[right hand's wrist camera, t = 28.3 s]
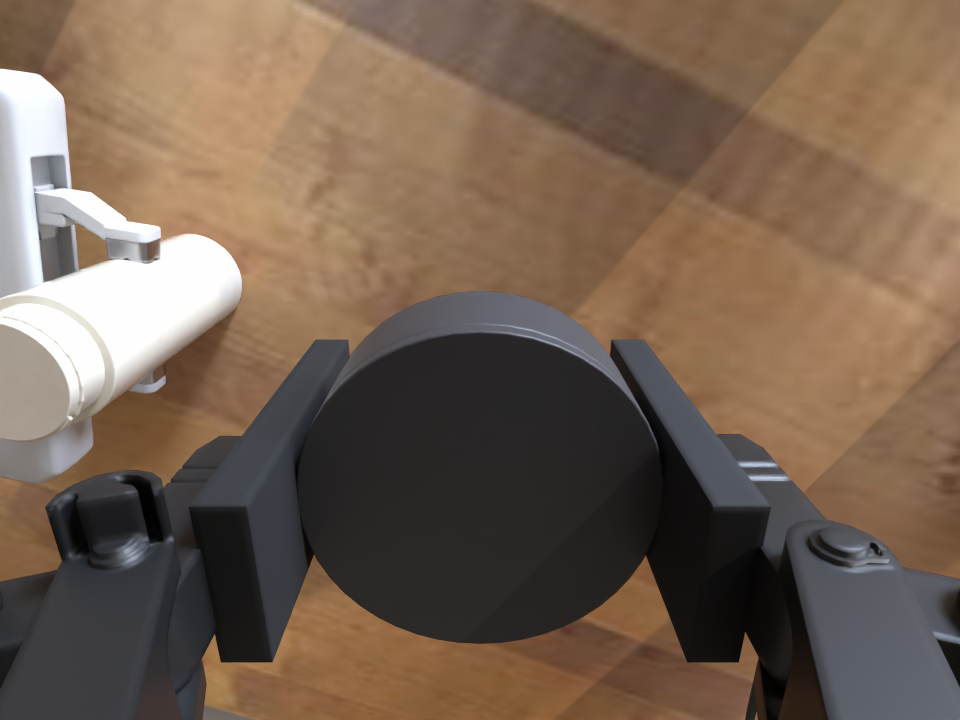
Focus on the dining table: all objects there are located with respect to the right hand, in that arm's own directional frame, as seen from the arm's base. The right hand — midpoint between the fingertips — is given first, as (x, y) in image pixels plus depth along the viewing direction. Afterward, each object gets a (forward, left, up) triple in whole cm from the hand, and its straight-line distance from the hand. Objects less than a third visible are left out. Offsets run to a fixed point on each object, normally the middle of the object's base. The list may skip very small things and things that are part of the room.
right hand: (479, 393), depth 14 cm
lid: (0, 0, +4) cm, 4 cm away
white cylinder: (+13, -11, -22) cm, 28 cm away
